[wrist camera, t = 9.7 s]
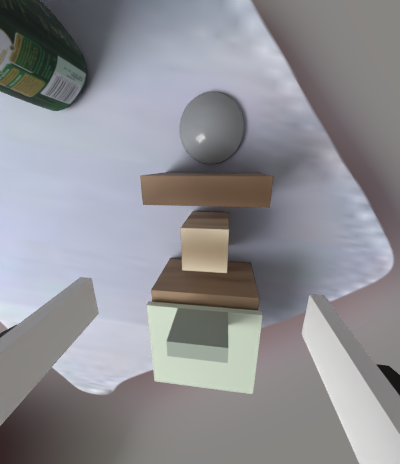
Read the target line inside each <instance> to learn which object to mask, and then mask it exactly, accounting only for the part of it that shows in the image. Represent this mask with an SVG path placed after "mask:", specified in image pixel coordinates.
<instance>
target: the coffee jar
mask: <svg viewBox="0 0 400 464" xmlns="http://www.w3.org/2000/svg"><path fill="white" fill-rule="evenodd" d="M86 75H87V68H86V63H85V60H84V58H83V56H82V54H81V52H80V50H79V49H78V47H77V45H76V44H75V42H74V41H73V39H72V38H71V36H70V35H69V34H68V32H67V31H66V30H65V28H64V27H63V26H62V24H61V23H60V22H59V21H58V19H57V18H56V17H55V16H54V15H53V14H52V13H51V11H50V10H49V9H48V8H47V7H46V6H45V5H44V4H43V3H42V2H40V1H39V0H0V92H3V93H6V94H8V95H11V96H13V97H16V98H18V99H21V100H24V101H26V102H29V103H32V104H34V105H37V106H40V107H43V108H46V109H49V110H53V111H59V110H63V109H65V108H66V107H68V106H69V105H70V104H72V103H73V102H74V101H75V99H77V97H78V96H79V94H80V93H81V91H82V89H83V87H84V84H85V81H86Z"/></svg>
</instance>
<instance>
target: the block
mask: <svg viewBox="0 0 400 464" xmlns="http://www.w3.org/2000/svg"><path fill="white" fill-rule="evenodd" d="M228 240H229V218H228V212H192V213H191V214H190V216H189V217H188V219H187V220H186V221H185V223H184V224H183V226H182V227H181V250H182V270H186V271H202V272H218V273H227V261H228Z"/></svg>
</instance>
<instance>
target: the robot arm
mask: <svg viewBox="0 0 400 464" xmlns="http://www.w3.org/2000/svg"><path fill="white" fill-rule="evenodd" d="M98 314H99V313H98V308H97V303H96V298H95V293H94V288H93V283H92V278H83V277H80V278H79V279H78V280H76V281H75V282H74V283H72V284H71V285H70V286H68V287H67V288H66V289H64V290H63V291H62V292H61V293H59V294H58V295H57V296H55V297H54V298H53V299H51V300H50V301H49V302H47V303H46V304H45V305H43V306H42V307H41V308H39V309H38V310H37V311H35V312H34V313H33V314H31V315H30V316H29V317H27V318H26V319H25V320H23V321H22V322H21V323H19V324H18V325H15V326H13V327H11V328H9V329H8V330H6V331H4V332H2V333H1V334H0V425H1V424H2V423H3V422H4V421H5V420H6V419H7V417H8V416H9V415H10V414H11V413H12V412H13V411H14V409H15V408H16V407H17V406H18V405H19V404H20V403H21V401H22V400H23V399H24V398H25V397H26V396H27V395H28V394H29V392H30V391H31V390H32V389H33V388H34V387H35V386H36V384H37V383H38V382H39V381H40V380H41V379H42V378H43V376H44V375H45V374H46V373H47V372H48V371H49V370H50V368H51V367H52V366H53V365H54V364H55V363H56V362H57V360H58V359H59V358H60V357H61V356H62V355H63V354H64V352H65V351H66V350H67V349H68V348H69V347H70V346H71V344H72V343H73V342H74V341H75V340H76V339H77V338H78V336H79V335H80V334H81V333H82V332H83V331H84V330H85V329H86V327H87V326H88V325H89V324H90V323H91V322H92V321H93V319H94V318H95V317H96V316H97V315H98ZM302 336H303V338H304V340H305V342H306V344H307V347H308V349H309V351H310V354H311V356H312V358H313V360H314V363H315V365H316V367H317V369H318V372H319V374H320V376H321V378H322V381H323V383H324V385H325V387H326V389H327V392H328V393H329V396H330V398H331V401H332V403H333V405H334V407H335V410H336V412H337V414H338V417H339V419H340V421H341V423H342V425H343V428H344V430H345V432H346V434H347V437H348V439H349V441H350V443H351V446H352V448H353V450H354V452H355V455H356V457H357V459H358V461H359V464H400V375H399V374H398V373H397V372H395V371H394V370H393V369H392V368H391V367H389V366H385V365H377V364H375V362H374V361H373V360H372V358H371V357H370V356H369V354H368V353H367V352H366V351H365V349H364V348H363V346H362V345H361V344H360V342H359V341H358V340H357V338H356V337H355V336H354V335H353V333H352V332H351V330H350V329H349V328H348V327H347V325H346V324H345V323H344V321H343V320H342V319H341V317H340V316H339V314H338V313H337V312H336V310H335V309H334V308H333V306H332V305H331V304H330V302H329V301H328V300H327V299H326V297H325V296H323V295H309V300H308V305H307V310H306V315H305V320H304V325H303V329H302Z"/></svg>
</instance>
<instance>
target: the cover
mask: <svg viewBox="0 0 400 464" xmlns="http://www.w3.org/2000/svg"><path fill="white" fill-rule="evenodd" d="M147 313H148V323H149V332H150V341H151V351H152V360H153V369H154V379H155V381H159V382H166V383H174V384H182V385H188V386H196V387H204V388H211V389H218V390H226V391H234V392H241V393H249V394H253V388H254V380H255V372H256V364H257V356H258V347H259V339H260V331H261V323H262V311H257V310H245V309H233V308H221V307H210V306H198V305H186V304H174V303H162V302H150V301H149V302H148V304H147Z"/></svg>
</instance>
